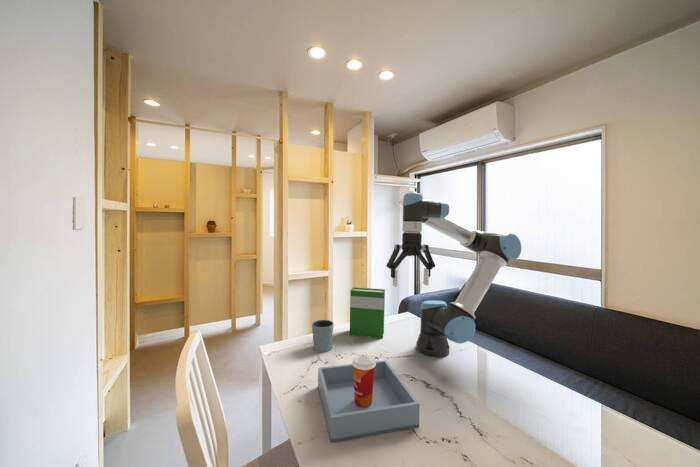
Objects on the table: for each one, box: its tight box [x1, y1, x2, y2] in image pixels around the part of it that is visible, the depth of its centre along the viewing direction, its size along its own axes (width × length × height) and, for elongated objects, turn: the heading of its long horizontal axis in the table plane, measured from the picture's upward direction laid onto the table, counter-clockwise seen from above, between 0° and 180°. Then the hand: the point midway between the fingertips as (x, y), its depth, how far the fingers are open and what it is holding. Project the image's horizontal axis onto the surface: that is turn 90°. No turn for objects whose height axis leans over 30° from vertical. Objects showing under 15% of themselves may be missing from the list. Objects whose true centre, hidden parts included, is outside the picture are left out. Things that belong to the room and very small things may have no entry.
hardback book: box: [349, 287, 386, 339], centre depth 146 cm, size 18×7×24 cm, turn 79°
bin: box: [317, 359, 421, 444], centre depth 88 cm, size 26×26×7 cm
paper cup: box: [351, 354, 376, 408], centre depth 88 cm, size 8×8×14 cm
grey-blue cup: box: [311, 319, 334, 353], centre depth 128 cm, size 10×10×12 cm
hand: (410, 285), depth 109 cm, fingers open, 13 cm apart
